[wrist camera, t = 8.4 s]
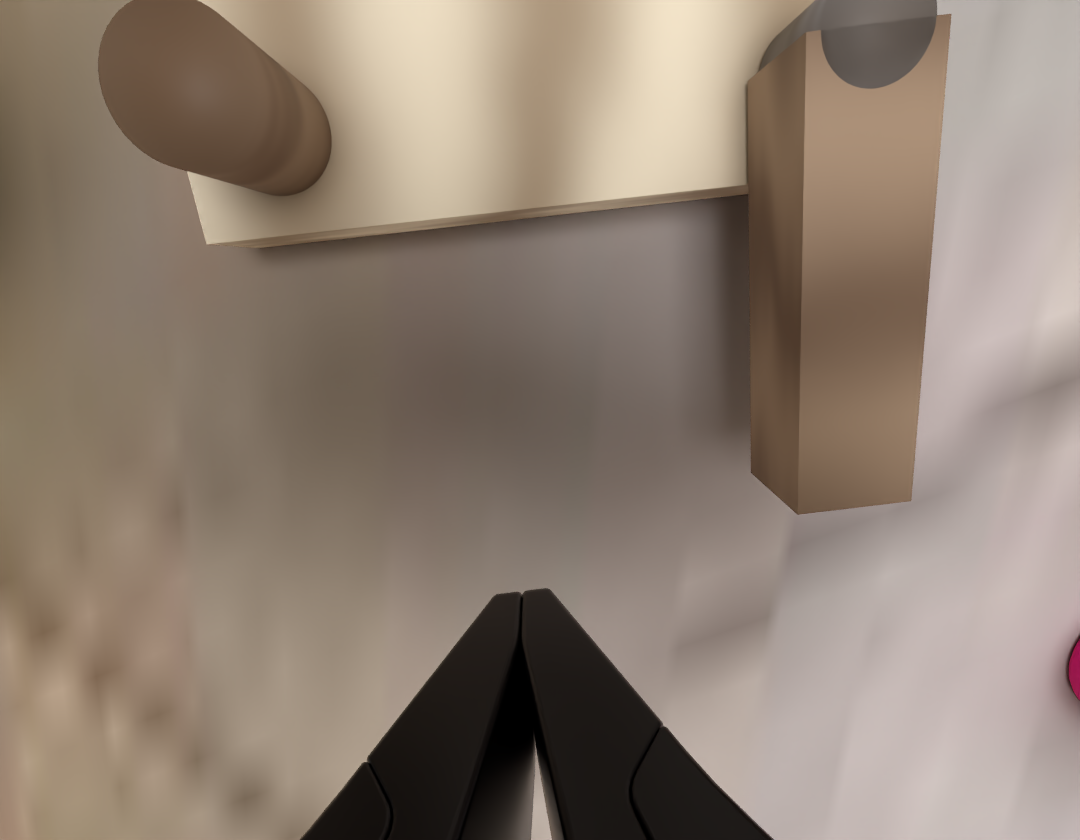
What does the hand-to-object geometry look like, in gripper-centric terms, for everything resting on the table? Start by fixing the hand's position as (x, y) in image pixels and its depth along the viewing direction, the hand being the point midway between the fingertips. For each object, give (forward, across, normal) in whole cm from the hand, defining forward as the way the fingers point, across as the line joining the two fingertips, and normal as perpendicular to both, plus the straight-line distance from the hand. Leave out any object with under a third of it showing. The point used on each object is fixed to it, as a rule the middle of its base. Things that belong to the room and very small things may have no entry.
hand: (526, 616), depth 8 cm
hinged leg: (+9, -9, -4) cm, 13 cm away
